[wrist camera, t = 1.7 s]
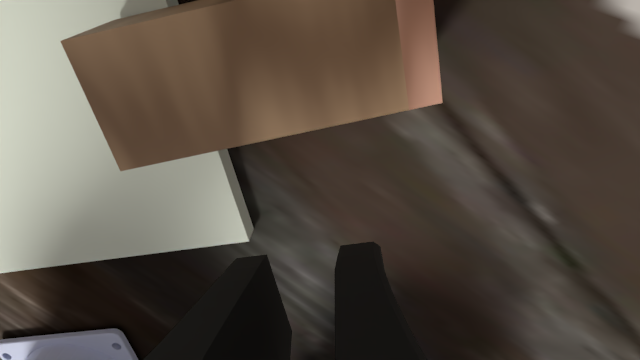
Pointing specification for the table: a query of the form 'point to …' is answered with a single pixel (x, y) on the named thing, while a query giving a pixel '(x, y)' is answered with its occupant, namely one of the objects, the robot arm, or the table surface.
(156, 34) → the walnut block
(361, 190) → the table surface
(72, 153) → the board
